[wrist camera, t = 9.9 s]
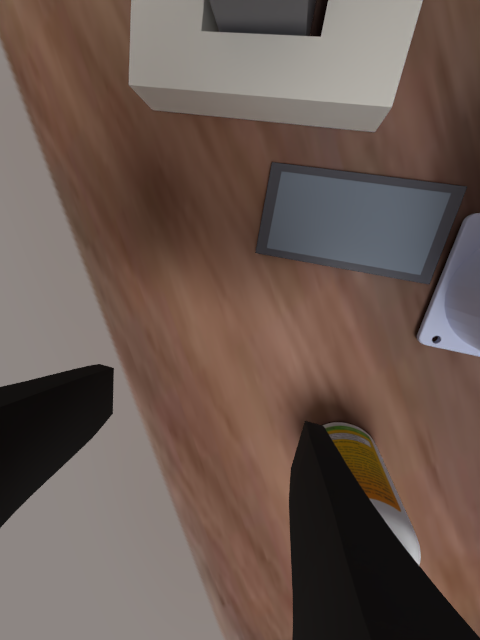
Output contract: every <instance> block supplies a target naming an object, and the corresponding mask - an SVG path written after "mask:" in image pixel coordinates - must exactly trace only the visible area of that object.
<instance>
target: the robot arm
mask: <svg viewBox="0 0 480 640" xmlns="http://www.w3.org/2000/svg"><path fill="white" fill-rule="evenodd" d="M434 336H438V339H437V340H436V341H432V338H433V337H434ZM417 340H418V341H419V342H420V343H422V344H424V345H428V346H433V347H437V348H442V349H447V350H451V351H456V352H461V353H465V354H470V355H475V356H479V357H480V213H475V214H471V215H469V216H467V217H466V218H465V219H464V221H463V222H462V225H461V227H460V230H459V232H458V235H457V237H456V240H455V242H454V245H453V247H452V250H451V252H450V254H449V257H448V259H447V262H446V264H445V267H444V269H443V272H442V274H441V277H440V279H439V282H438V284H437V287H436V289H435V292H434V294H433V296H432V299H431V301H430V304H429V306H428V309H427V311H426V314H425V316H424V319H423V321H422V324H421V326H420V329H419V331H418V334H417ZM113 373H114V368H112V367H108V366H104V365H101V364H98V365H91V366H86V367H82V368H77V369H73V370H70V371H65V372H61V373H57V374H53V375H49V376H45V377H41V378H37V379H33V380H29V381H25V382H21V383H16V384H12V385H7V386H3V387H0V527H1V526H2V525H3V524H4V523H5V522H6V521H7V520H8V519H9V518H10V517H11V515H12V514H13V513H14V512H15V511H16V510H17V509H18V508H19V507H20V506H21V505H22V504H23V503H24V502H25V501H26V500H27V499H28V498H29V497H30V496H31V495H32V494H33V493H34V492H35V491H36V490H37V489H39V488H40V487H41V486H42V485H43V484H44V483H45V482H46V481H47V480H48V479H49V478H50V477H51V476H53V475H54V474H55V473H56V472H57V471H58V470H59V469H60V468H61V467H62V466H63V465H64V464H65V463H66V462H67V461H68V460H70V459H71V458H72V457H73V456H74V455H75V454H76V453H77V452H78V451H79V450H80V449H81V448H82V447H83V446H84V445H85V444H86V443H87V442H88V441H89V440H90V439H91V438H93V436H94V435H95V434H96V433H97V432H98V431H99V429H100V428H101V427H102V426H103V425H104V423H105V422H106V421H107V420H108V419H109V417H110V416H111V415H112V414H113ZM289 515H290V541H291V564H292V588H293V640H480V638H479V637H478V635H477V634H476V633H475V632H474V631H473V630H472V629H471V627H470V626H469V625H468V624H467V623H466V622H465V620H464V619H463V618H462V617H461V616H460V615H459V614H458V612H457V611H456V610H455V609H454V608H453V607H452V605H451V604H450V603H449V602H448V601H447V599H446V598H445V597H444V596H443V595H442V593H441V592H440V591H439V590H438V589H437V587H436V586H435V585H434V584H433V583H432V581H431V580H430V579H429V578H428V576H427V575H426V574H425V572H424V571H423V570H422V569H421V567H420V566H419V565H418V564H417V562H416V561H415V560H414V559H413V557H412V556H411V555H410V554H409V552H408V551H407V550H406V549H405V547H404V546H403V545H402V543H401V542H400V541H399V539H398V538H397V537H396V535H395V534H394V533H393V531H392V530H391V529H390V527H389V526H388V525H387V523H386V522H385V520H384V519H383V518H382V516H381V515H380V513H379V512H378V511H377V509H376V508H375V506H374V505H373V504H372V502H371V501H370V499H369V498H368V496H367V495H366V493H365V492H364V490H363V489H362V487H361V486H360V484H359V483H358V481H357V480H356V478H355V477H354V475H353V473H352V472H351V470H350V469H349V467H348V465H347V464H346V462H345V461H344V459H343V457H342V456H341V454H340V452H339V451H338V449H337V447H336V446H335V444H334V442H333V441H332V439H331V437H330V436H329V434H328V432H327V431H326V429H325V427H324V426H322V425H318V424H315V423H311V422H307V421H305V423H304V426H303V430H302V433H301V436H300V440H299V443H298V447H297V450H296V453H295V457H294V460H293V463H292V467H291V477H290V493H289Z"/></svg>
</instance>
